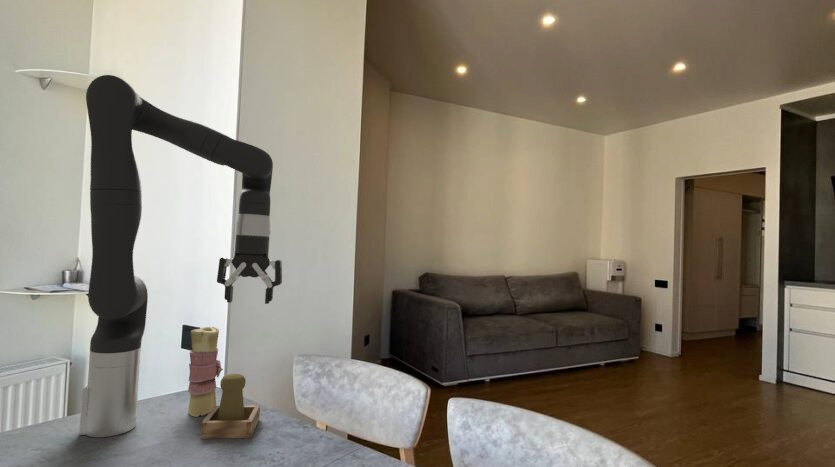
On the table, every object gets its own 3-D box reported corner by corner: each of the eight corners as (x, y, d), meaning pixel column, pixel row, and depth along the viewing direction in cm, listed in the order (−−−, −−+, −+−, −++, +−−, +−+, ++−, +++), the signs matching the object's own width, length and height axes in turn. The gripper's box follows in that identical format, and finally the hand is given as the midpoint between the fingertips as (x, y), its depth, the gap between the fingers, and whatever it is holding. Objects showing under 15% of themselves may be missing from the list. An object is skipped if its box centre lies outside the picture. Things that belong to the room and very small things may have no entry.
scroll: (226, 407, 112) (231, 326, 113) (209, 418, 105) (215, 332, 105) (197, 404, 113) (202, 325, 114) (179, 415, 105) (184, 330, 106)
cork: (226, 432, 95) (229, 380, 96) (210, 425, 99) (213, 375, 99) (250, 424, 100) (253, 374, 101) (234, 417, 104) (237, 369, 104)
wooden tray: (200, 438, 94) (201, 422, 94) (214, 420, 104) (215, 405, 104) (250, 437, 95) (251, 421, 95) (259, 419, 105) (260, 405, 105)
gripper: (216, 232, 101) (212, 303, 101) (281, 235, 104) (277, 305, 103) (225, 233, 109) (221, 300, 108) (286, 236, 111) (282, 301, 110)
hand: (248, 302), depth 106 cm, fingers open, 8 cm apart
